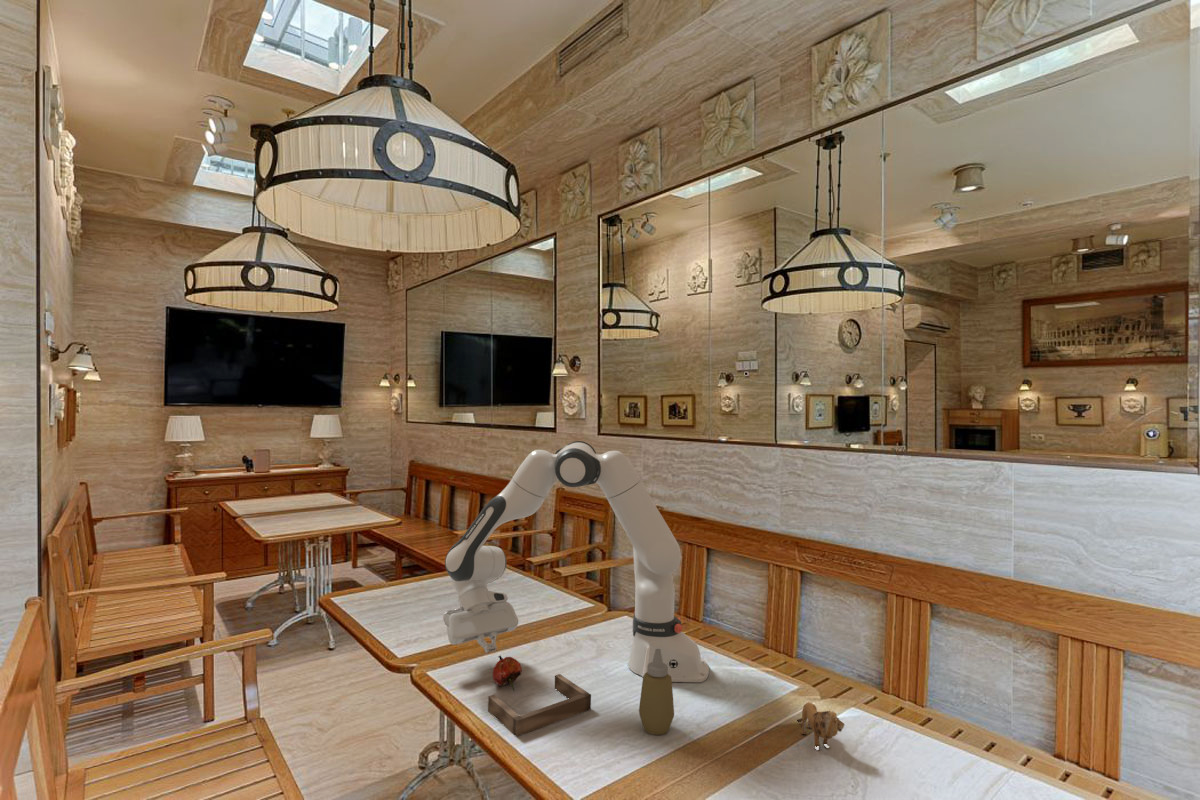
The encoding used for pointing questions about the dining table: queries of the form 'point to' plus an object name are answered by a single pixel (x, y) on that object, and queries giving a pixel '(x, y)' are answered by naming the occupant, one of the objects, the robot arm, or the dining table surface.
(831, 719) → the lion figurine
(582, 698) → the walnut bay
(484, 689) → the dining table surface
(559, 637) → the dining table surface
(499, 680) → the red round fruit
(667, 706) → the squeeze bottle
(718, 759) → the dining table surface
